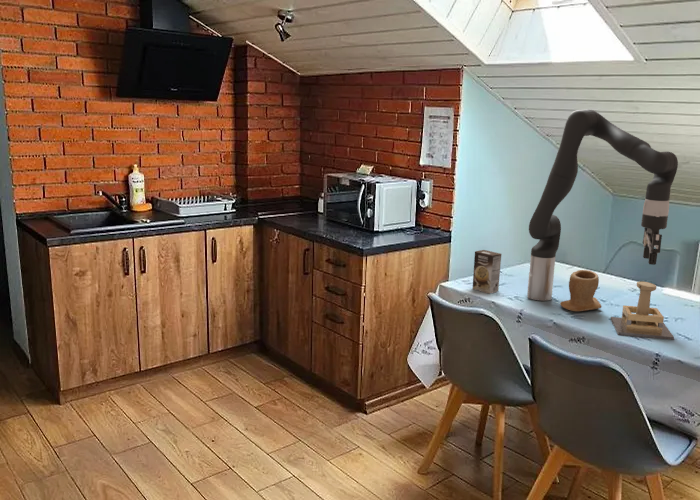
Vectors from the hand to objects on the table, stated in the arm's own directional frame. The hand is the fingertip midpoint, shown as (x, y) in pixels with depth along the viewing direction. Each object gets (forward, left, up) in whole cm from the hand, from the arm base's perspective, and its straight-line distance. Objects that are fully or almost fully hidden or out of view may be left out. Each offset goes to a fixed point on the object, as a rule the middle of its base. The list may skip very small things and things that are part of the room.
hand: (649, 261), depth 204 cm
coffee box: (-53, +32, -24) cm, 67 cm away
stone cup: (-17, +17, -24) cm, 34 cm away
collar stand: (0, 0, -24) cm, 24 cm away
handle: (0, 0, -23) cm, 23 cm away
